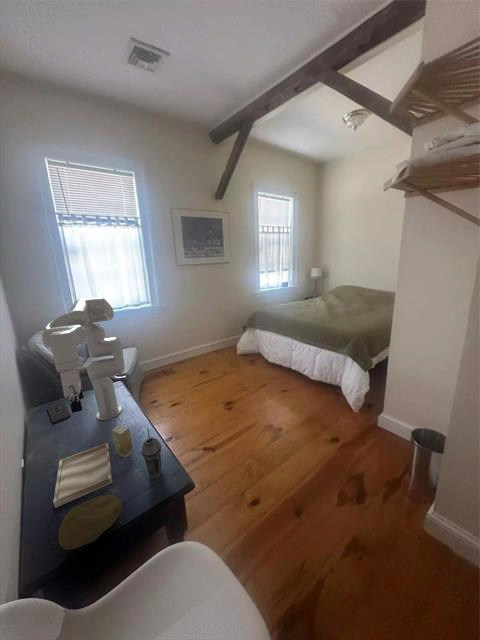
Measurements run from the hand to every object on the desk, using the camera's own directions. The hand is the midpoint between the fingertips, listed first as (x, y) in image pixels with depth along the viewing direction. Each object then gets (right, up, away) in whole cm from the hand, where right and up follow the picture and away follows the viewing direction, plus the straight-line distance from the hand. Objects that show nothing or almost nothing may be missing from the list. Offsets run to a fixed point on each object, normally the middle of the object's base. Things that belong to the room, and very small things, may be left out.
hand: (78, 405), depth 97 cm
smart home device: (-41, -21, +46) cm, 65 cm away
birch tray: (0, -29, +4) cm, 29 cm away
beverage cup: (+29, -28, +2) cm, 40 cm away
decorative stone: (+17, -34, -18) cm, 42 cm away
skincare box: (+12, -26, +13) cm, 31 cm away
